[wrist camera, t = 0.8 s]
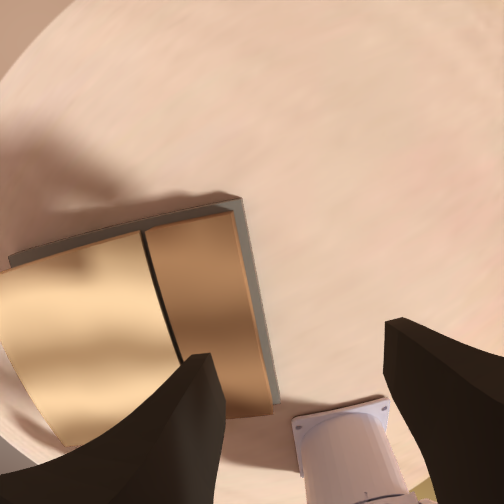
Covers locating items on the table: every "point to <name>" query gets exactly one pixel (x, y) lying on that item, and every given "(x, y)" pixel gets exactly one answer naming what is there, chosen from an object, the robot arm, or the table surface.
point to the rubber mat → (145, 225)
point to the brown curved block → (213, 305)
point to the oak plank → (87, 335)
